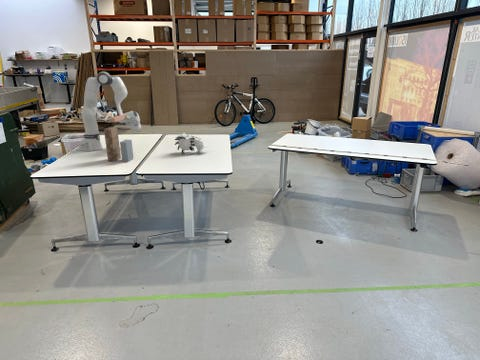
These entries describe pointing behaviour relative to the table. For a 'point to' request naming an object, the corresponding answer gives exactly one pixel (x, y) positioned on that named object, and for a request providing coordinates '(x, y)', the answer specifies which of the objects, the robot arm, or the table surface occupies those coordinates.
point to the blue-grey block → (126, 150)
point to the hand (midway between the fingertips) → (123, 116)
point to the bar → (118, 118)
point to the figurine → (190, 143)
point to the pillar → (112, 144)
